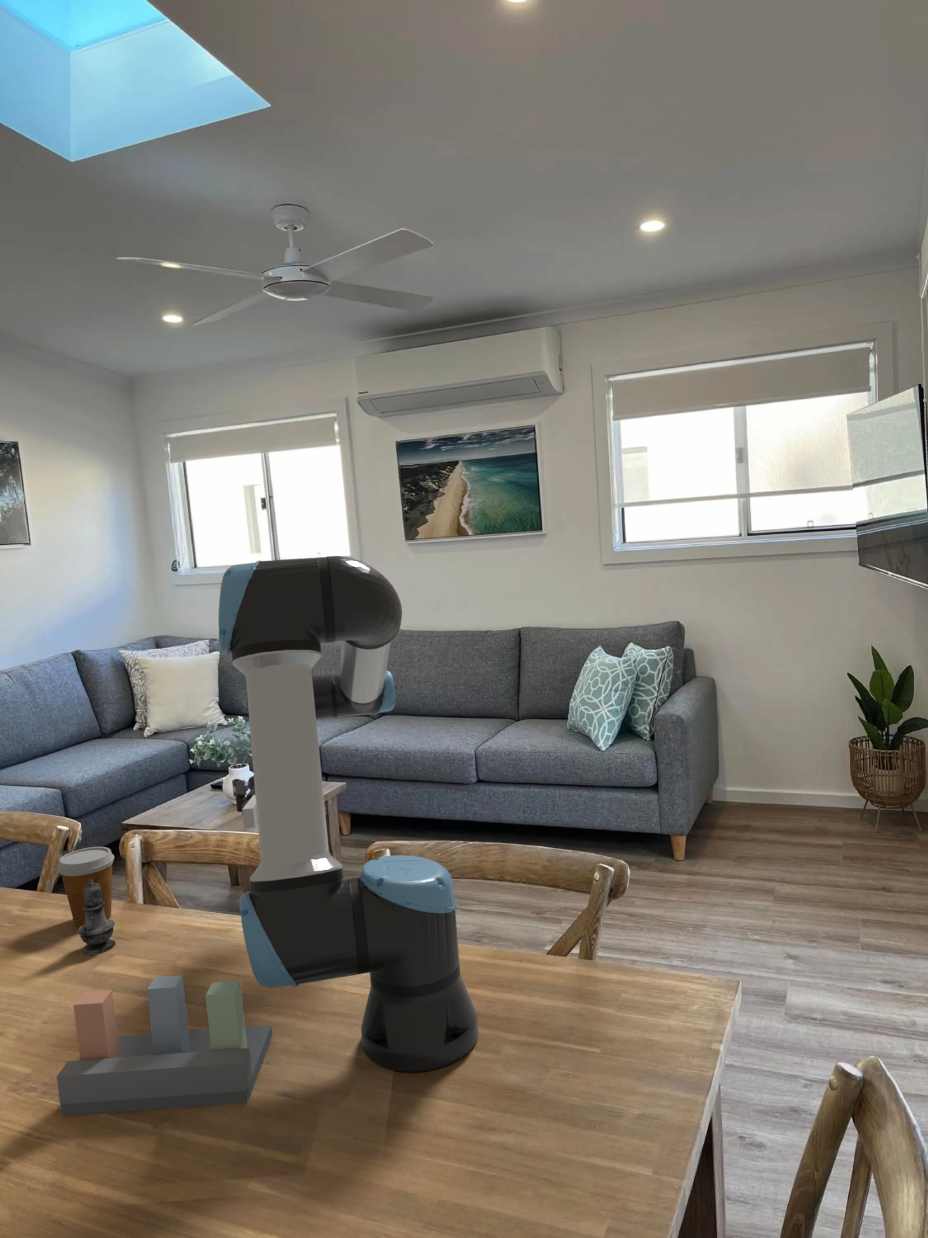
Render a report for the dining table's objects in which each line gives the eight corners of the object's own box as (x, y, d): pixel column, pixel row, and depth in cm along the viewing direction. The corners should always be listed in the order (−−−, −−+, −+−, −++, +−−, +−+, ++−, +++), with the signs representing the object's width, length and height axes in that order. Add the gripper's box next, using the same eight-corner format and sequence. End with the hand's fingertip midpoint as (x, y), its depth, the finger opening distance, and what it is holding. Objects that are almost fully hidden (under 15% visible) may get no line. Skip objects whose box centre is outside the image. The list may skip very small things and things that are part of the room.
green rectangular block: (248, 1057, 111) (240, 981, 110) (242, 1071, 108) (234, 993, 107) (220, 1059, 111) (212, 983, 110) (213, 1073, 108) (205, 995, 107)
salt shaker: (104, 956, 146) (95, 886, 145) (72, 955, 147) (63, 885, 146) (124, 939, 151) (116, 872, 150) (94, 939, 153) (85, 871, 152)
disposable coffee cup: (67, 914, 164) (60, 851, 163) (122, 904, 167) (115, 842, 166) (61, 935, 155) (52, 869, 154) (118, 924, 158) (111, 859, 157)
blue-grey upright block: (190, 1050, 113) (182, 975, 112) (183, 1064, 110) (175, 987, 109) (163, 1051, 113) (155, 977, 112) (155, 1065, 110) (146, 989, 109)
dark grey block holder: (272, 1035, 118) (268, 1000, 118) (247, 1103, 104) (243, 1063, 104) (108, 1047, 118) (104, 1012, 118) (61, 1116, 104) (56, 1076, 104)
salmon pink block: (120, 1066, 111) (111, 990, 110) (111, 1081, 108) (102, 1003, 107) (93, 1068, 111) (83, 992, 110) (82, 1083, 108) (73, 1005, 107)
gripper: (324, 791, 146) (298, 841, 122) (245, 797, 146) (204, 848, 122) (320, 746, 145) (293, 788, 122) (241, 752, 145) (198, 795, 122)
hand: (248, 818), depth 122 cm, fingers closed
